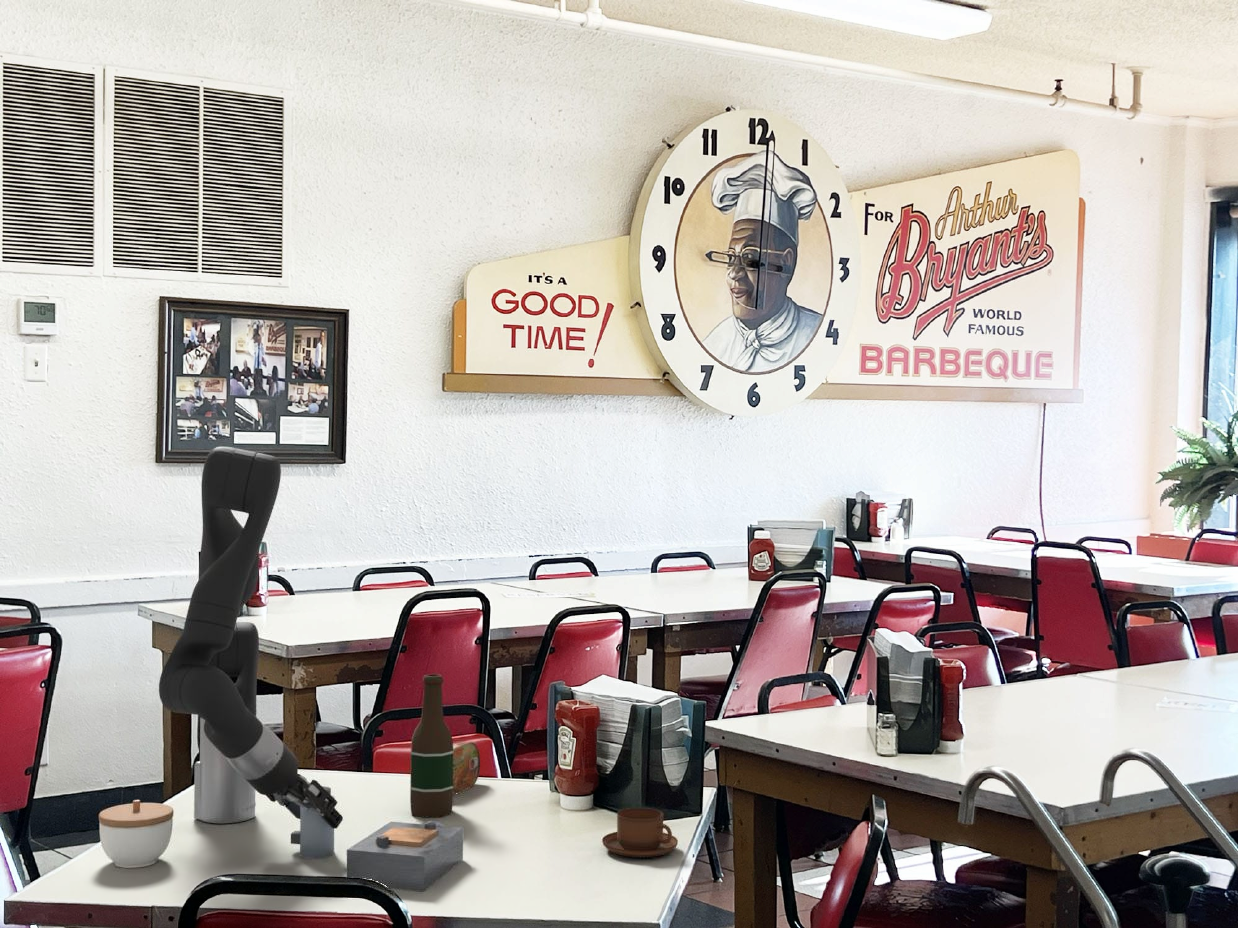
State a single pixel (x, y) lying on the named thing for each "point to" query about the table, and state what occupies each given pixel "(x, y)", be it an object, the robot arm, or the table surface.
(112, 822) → the lidded jar
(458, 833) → the grey block with pad
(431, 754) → the beer bottle
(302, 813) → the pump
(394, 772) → the table surface
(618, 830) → the cup and saucer
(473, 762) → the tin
